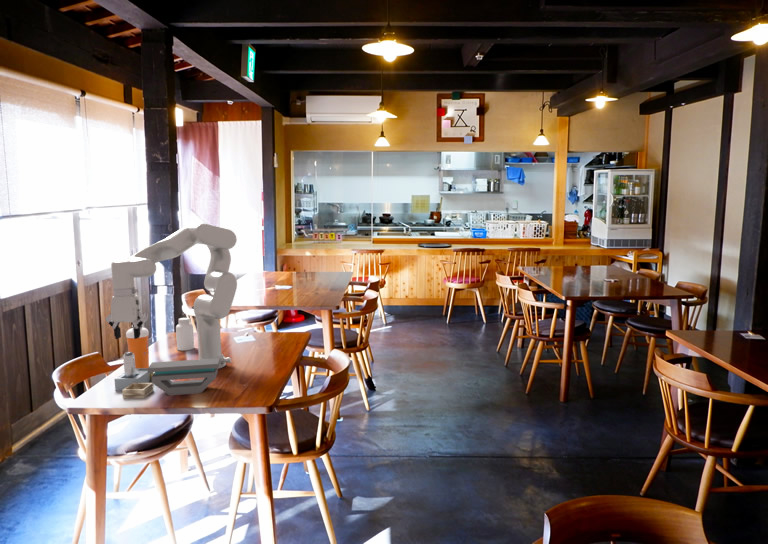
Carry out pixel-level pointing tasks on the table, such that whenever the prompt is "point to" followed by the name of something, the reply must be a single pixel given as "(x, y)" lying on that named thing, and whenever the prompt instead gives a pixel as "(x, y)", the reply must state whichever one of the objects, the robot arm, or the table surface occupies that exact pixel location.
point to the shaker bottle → (139, 346)
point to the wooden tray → (137, 390)
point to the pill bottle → (184, 335)
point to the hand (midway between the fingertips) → (127, 337)
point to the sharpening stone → (184, 375)
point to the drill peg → (129, 365)
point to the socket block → (141, 377)
